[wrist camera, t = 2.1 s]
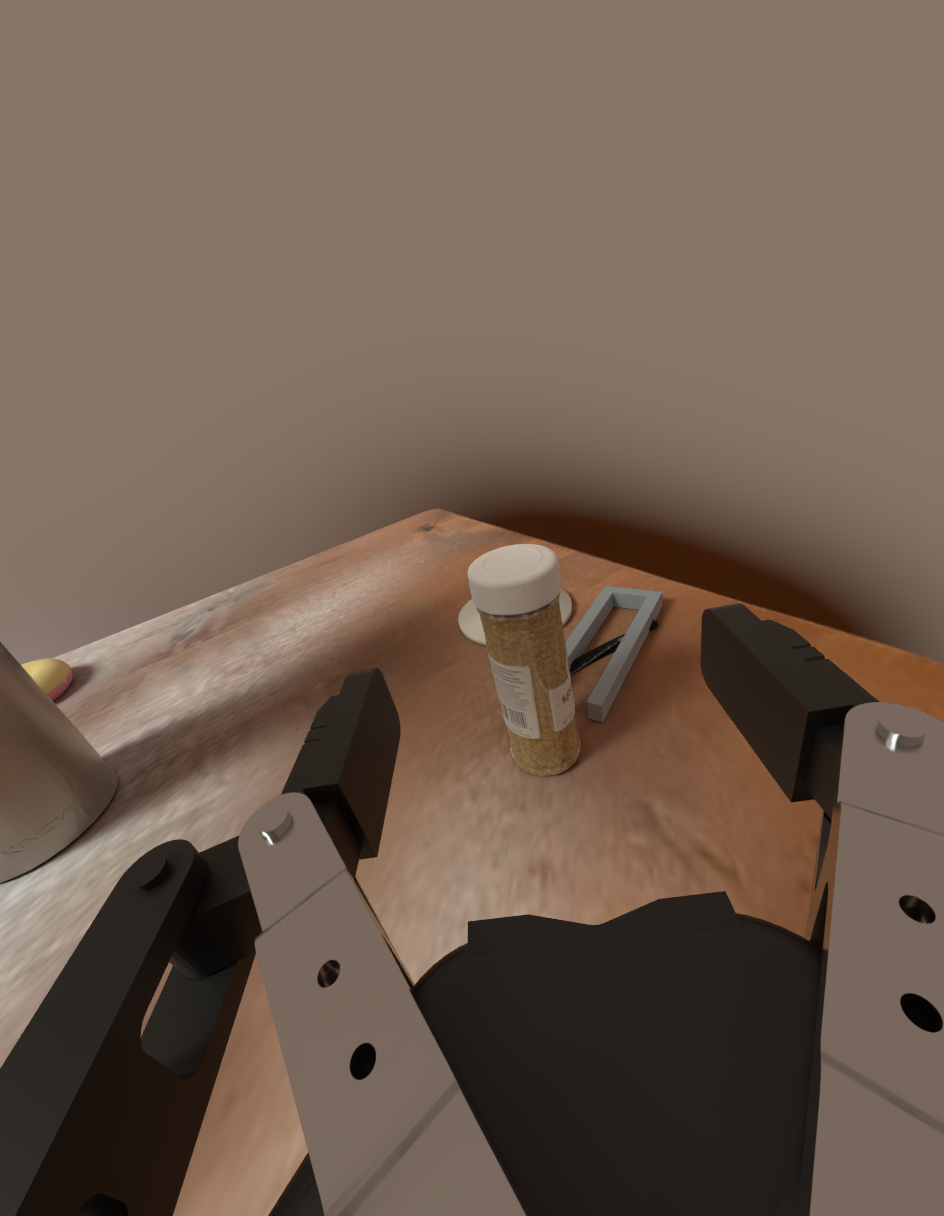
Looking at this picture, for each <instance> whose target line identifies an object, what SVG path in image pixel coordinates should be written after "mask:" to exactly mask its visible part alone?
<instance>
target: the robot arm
mask: <svg viewBox="0 0 944 1216" xmlns="http://www.w3.org/2000/svg"><path fill="white" fill-rule="evenodd" d="M701 670H702V674H703V677H704V680H705V682H706V684H707V686H708V688H709V689H710V691H711V692H712V693H713V695H714V696H715V697H716V699H717V700H718V702H719V703H720V704H721V706H722V707H723V709H724V710H725V711H726V713H727V714H728V715H729V717H730V718H731V720H732V721H733V722H734V724H735V725H736V727H737V728H738V729H739V731H740V732H741V734H742V735H743V736H744V738H745V739H746V740H747V742H748V743H749V745H750V746H751V747H752V749H753V750H754V752H755V753H756V754H757V756H758V757H759V758H760V760H761V761H762V763H763V764H764V765H765V767H766V768H767V770H768V771H769V772H770V774H771V775H772V777H773V778H774V779H775V781H776V782H777V783H778V785H779V786H780V788H781V789H782V790H783V792H784V793H785V795H786V796H787V797H788V799H789V800H790V801H791V802H798V801H805V800H812V799H815V800H816V801H817V803H818V804H819V805H820V806H821V808H822V809H823V813H822V817H821V822H820V830H819V838H818V846H817V854H816V862H815V870H814V878H813V887H812V895H811V902H810V909H809V915H808V920H807V925H806V931H805V936H804V938H803V937H801V936H799V935H797V934H795V933H793V932H791V931H789V930H787V929H785V928H783V927H780V926H778V925H775V924H773V923H770V922H768V921H765V920H762V919H758V918H755V917H751V916H747V915H743V914H737V913H735V911H734V909H733V907H732V905H731V902H730V900H729V898H728V896H727V894H726V892H725V891H723V892H715V893H706V894H698V895H689V896H681V897H672V898H664V899H658V900H656V901H654V902H651V903H649V904H647V905H644V906H642V907H640V908H637V909H635V910H633V911H631V912H628V913H626V914H624V915H621V916H619V917H617V918H615V919H612V920H610V921H608V922H605V923H603V924H600V925H587V924H581V923H575V922H569V921H564V920H558V919H552V918H546V917H540V916H534V915H520V916H512V917H503V918H495V919H486V920H478V921H469V922H468V943H467V944H465V945H462V946H460V947H458V948H457V949H455V950H454V951H452V952H450V953H449V954H447V955H445V956H444V957H443V958H442V959H440V960H439V961H438V962H437V963H435V964H434V965H433V966H432V967H431V968H430V969H429V970H428V971H427V972H426V973H425V974H424V975H423V976H422V977H421V978H420V979H419V980H418V982H417V983H416V984H414V982H413V980H412V978H411V977H410V975H409V973H408V971H407V969H406V968H405V966H404V964H403V963H402V961H401V959H400V957H399V955H398V954H397V952H396V950H395V948H394V946H393V944H392V943H391V941H390V939H389V937H388V935H387V933H386V932H385V930H384V928H383V926H382V924H381V922H380V920H379V919H378V917H377V915H376V913H375V911H374V909H373V908H372V906H371V904H370V902H369V900H368V898H367V896H366V895H365V893H364V891H363V889H362V887H361V885H360V884H359V882H358V880H357V878H356V877H355V875H356V871H357V866H358V862H359V859H366V858H374V857H377V856H378V850H379V845H380V840H381V835H382V829H383V824H384V819H385V814H386V808H387V803H388V798H389V793H390V787H391V782H392V777H393V772H394V766H395V761H396V756H397V751H398V745H399V740H400V721H399V716H398V713H397V710H396V708H395V705H394V702H393V700H392V697H391V695H390V692H389V690H388V687H387V685H386V682H385V680H384V677H383V675H382V673H381V671H380V670H379V669H377V668H376V669H371V670H365V671H360V672H354V673H349V674H348V675H347V677H346V679H345V681H344V684H343V687H342V689H341V692H340V694H339V695H336V696H331V697H330V698H329V700H328V701H327V702H326V703H325V704H324V705H323V706H322V707H321V708H320V710H319V711H318V712H317V714H316V716H315V719H314V721H313V723H312V725H311V728H310V729H311V731H309V732H308V734H307V737H306V739H305V741H304V742H305V745H303V746H302V748H301V750H300V753H299V755H298V757H297V760H296V762H295V764H294V766H293V769H292V771H291V773H290V775H289V778H288V780H287V782H286V785H285V787H284V789H283V791H282V794H281V795H280V796H277V797H275V798H273V799H271V800H269V801H268V802H266V803H265V804H263V805H262V806H261V807H260V808H258V809H257V810H256V811H255V812H254V813H253V814H252V815H251V816H250V818H249V819H248V820H247V821H246V823H245V825H244V826H243V828H242V830H241V833H240V835H239V836H237V837H235V838H232V839H230V840H228V841H225V842H223V843H221V844H219V845H216V846H214V847H212V848H209V849H207V850H205V851H202V852H200V853H199V852H198V851H197V850H196V849H195V847H194V846H193V845H192V844H191V843H190V842H189V841H186V840H180V839H179V840H172V841H169V842H166V843H163V844H161V845H159V846H157V847H155V848H153V849H152V850H150V851H149V852H147V853H146V854H144V855H143V856H142V857H140V858H139V859H138V860H137V861H136V862H135V863H134V864H133V865H132V866H131V867H130V868H129V869H128V870H127V871H126V872H125V873H124V874H123V876H122V877H121V878H120V880H119V881H118V883H117V884H116V886H115V887H114V889H113V891H112V892H111V894H110V895H109V897H108V898H107V900H106V902H105V903H104V905H103V906H102V908H101V910H100V911H99V913H98V914H97V916H96V918H95V919H94V921H93V922H92V924H91V925H90V927H89V929H88V930H87V932H86V933H85V935H84V937H83V938H82V940H81V941H80V943H79V945H78V946H77V948H76V949H75V951H74V952H73V954H72V956H71V957H70V959H69V960H68V962H67V964H66V965H65V967H64V968H63V970H62V972H61V973H60V975H59V976H58V978H57V979H56V981H55V983H54V984H53V986H52V987H51V989H50V991H49V992H48V994H47V995H46V997H45V999H44V1000H43V1002H42V1003H41V1005H40V1007H39V1008H38V1010H37V1011H36V1013H35V1014H34V1016H33V1018H32V1019H31V1021H30V1022H29V1024H28V1026H27V1027H26V1029H25V1030H24V1032H23V1034H22V1035H21V1037H20V1038H19V1040H18V1041H17V1043H16V1045H15V1046H14V1048H13V1049H12V1051H11V1053H10V1054H9V1056H8V1057H7V1059H6V1061H5V1062H4V1064H3V1065H2V1067H1V1068H0V1216H173V1213H174V1210H175V1207H176V1203H177V1200H178V1197H179V1194H180V1191H181V1188H182V1184H183V1181H184V1178H185V1175H186V1172H187V1169H188V1166H189V1162H190V1159H191V1156H192V1153H193V1150H194V1147H195V1144H196V1140H197V1137H198V1134H199V1131H200V1128H201V1125H202V1121H203V1118H204V1115H205V1112H206V1109H207V1106H208V1103H209V1099H210V1096H211V1093H212V1090H213V1087H214V1084H215V1080H216V1077H217V1074H218V1071H219V1068H220V1065H221V1062H222V1058H223V1055H224V1052H225V1049H226V1046H227V1043H228V1040H229V1036H230V1033H231V1030H232V1027H233V1024H234V1021H235V1017H236V1014H237V1011H238V1008H239V1005H240V1002H241V999H242V995H243V992H244V989H245V986H246V983H247V980H248V976H249V973H250V970H251V967H252V964H253V961H254V958H255V954H257V958H258V962H259V966H260V969H261V973H262V977H263V981H264V985H265V988H266V992H267V996H268V1000H269V1004H270V1008H271V1011H272V1015H273V1019H274V1023H275V1027H276V1030H277V1034H278V1038H279V1042H280V1046H281V1049H282V1053H283V1057H284V1061H285V1065H286V1068H287V1072H288V1076H289V1080H290V1084H291V1087H292V1091H293V1095H294V1099H295V1103H296V1106H297V1110H298V1114H299V1118H300V1122H301V1125H302V1129H303V1133H304V1137H305V1141H306V1144H307V1148H308V1153H307V1155H306V1157H305V1158H304V1160H303V1161H302V1163H301V1164H300V1166H299V1168H298V1169H297V1171H296V1172H295V1174H294V1176H293V1177H292V1179H291V1180H290V1182H289V1184H288V1185H287V1187H286V1188H285V1190H284V1191H283V1193H282V1195H281V1196H280V1198H279V1199H278V1201H277V1203H276V1204H275V1206H274V1207H273V1209H272V1211H271V1212H270V1214H269V1215H268V1216H944V723H943V722H942V721H940V720H938V719H937V718H935V717H933V716H931V715H929V714H927V713H925V712H922V711H920V710H917V709H914V708H911V707H908V706H904V705H900V704H894V703H884V702H879V701H878V700H876V699H875V698H874V697H873V696H872V695H870V694H869V693H868V692H867V691H866V690H865V689H863V688H862V687H861V686H860V685H859V684H857V683H856V682H855V681H854V680H853V679H851V678H850V677H849V676H848V675H847V674H845V673H844V672H843V671H842V670H841V669H840V668H838V667H837V666H836V665H835V664H834V663H832V662H831V661H830V660H829V659H825V657H824V655H823V654H822V653H820V652H819V651H818V650H817V649H816V648H815V647H811V646H810V643H809V642H807V641H806V640H805V639H804V638H803V637H801V636H800V635H799V634H798V633H797V632H795V631H794V630H793V629H790V628H788V627H786V626H783V625H781V624H779V623H776V622H774V621H772V620H764V621H761V620H760V619H759V618H758V617H756V616H755V615H754V614H753V613H752V612H751V611H750V610H749V609H748V608H746V607H745V606H744V605H743V604H741V603H737V604H732V605H726V606H721V607H715V608H710V609H706V610H704V612H703V615H702V633H701ZM117 784H118V778H117V775H116V773H115V772H114V771H113V770H112V769H111V767H110V766H109V765H108V764H107V763H106V762H105V761H104V759H103V758H102V757H101V756H100V755H99V754H98V753H97V752H96V750H95V749H94V748H93V747H92V746H91V745H90V744H89V742H88V741H87V740H86V739H85V737H84V736H83V735H82V734H81V733H80V732H79V731H78V729H77V728H76V727H75V726H74V725H73V724H72V723H71V721H70V720H69V719H68V718H67V717H66V716H65V715H64V714H63V712H62V711H61V710H60V709H59V708H58V707H57V706H56V704H55V703H54V702H53V701H52V700H51V699H50V698H49V696H48V695H47V694H46V693H45V692H44V691H43V690H42V689H41V687H40V686H39V685H38V684H37V683H36V682H35V681H34V679H33V678H32V677H31V676H30V675H29V674H28V673H27V671H26V670H25V669H24V668H23V667H22V666H21V665H20V664H19V662H18V661H17V660H16V659H15V658H14V657H13V656H12V654H11V653H10V652H9V651H8V650H7V649H6V648H5V646H4V645H3V644H2V643H1V642H0V883H1V882H4V881H7V880H9V879H12V878H14V877H16V876H18V875H21V874H23V873H25V872H27V871H29V870H31V869H33V868H34V867H36V866H38V865H39V864H41V863H43V862H45V861H46V860H48V859H49V858H51V857H52V856H54V855H55V854H56V853H58V852H59V851H61V850H62V849H64V848H65V847H66V846H67V845H69V844H70V843H71V842H72V841H74V840H75V839H76V838H77V837H79V836H80V835H81V834H82V833H83V832H84V831H85V830H86V829H87V828H88V827H89V826H90V825H91V824H92V823H93V822H94V821H95V820H96V819H97V818H98V817H99V816H100V814H101V813H102V812H103V811H104V810H105V808H106V807H107V805H108V804H109V802H110V801H111V799H112V798H113V796H114V793H115V791H116V789H117ZM169 962H170V963H171V964H172V965H173V967H172V970H171V972H170V974H169V976H168V978H167V981H166V983H165V985H164V987H163V990H162V992H161V994H160V996H159V998H158V1001H157V1003H156V1005H155V1007H154V1010H153V1012H152V1014H151V1016H150V1019H149V1021H148V1023H147V1025H146V1027H145V1030H144V1032H143V1034H142V1036H141V1027H142V1022H143V1019H144V1016H145V1013H146V1011H147V1009H148V1006H149V1004H150V1002H151V1000H152V998H153V996H154V993H155V991H156V989H157V987H158V985H159V982H160V980H161V978H162V976H163V974H164V972H165V969H166V967H167V965H168V963H169ZM140 1036H141V1039H140Z"/></svg>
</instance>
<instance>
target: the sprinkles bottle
mask: <svg viewBox="0 0 944 1216" xmlns="http://www.w3.org/2000/svg"><path fill="white" fill-rule="evenodd" d="M467 575H468V581H469V586H470V591H471V595H472V599H473V602H474V605H475V606H476V608H477V611H478V612H479V614H480V618H481V622H482V626H483V630H484V634H485V639H486V644H487V652H488V657H489V661H490V665H491V669H492V674H493V678H494V682H495V686H496V690H497V694H498V698H499V702H500V706H501V710H502V714H503V718H504V721H505V723H506V726H507V730H508V734H509V738H510V752H511V756H512V758H513V759H514V762H515V763H516V764H517V765H518V766H519V767H520V768H521V769H523V770H524V771H526V772H528V773H530V774H534V775H538V776H551V775H557V774H559V773H561V772H564V771H566V770H567V769H568V768H569V767H570V766H571V765H573V764H574V763H575V761H576V760H577V759H578V757H579V755H580V751H581V739H580V738H579V734H578V731H577V724H576V717H575V703H574V696H573V690H572V684H571V677H570V669H569V662H568V654H567V647H566V642H565V640H564V631H563V625H562V618H561V612H560V604H559V597H560V590H561V578H560V571H559V565H558V559H557V556H556V554H555V553H554V552H553V551H552V550H550V549H549V548H547V547H544V546H541V545H535V544H517V545H510V546H505V547H501V548H498V549H495V550H492V551H490V552H487V553H485V554H483V555H481V556H480V557H478V558H477V559H476V560H475V561H473V563H472V564H471V565H470V567H469V569H468V574H467Z"/></svg>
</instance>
